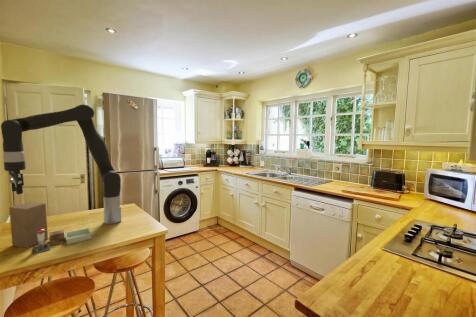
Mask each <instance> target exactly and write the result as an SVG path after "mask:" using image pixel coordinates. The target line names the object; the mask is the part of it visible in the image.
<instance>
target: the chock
mask: <svg viewBox="0 0 476 317" xmlns="http://www.w3.org/2000/svg"><path fill="white" fill-rule="evenodd" d="M48 239H49V243H50V246H51V245H54V244H60V243H64V242H65V243H66V240H65V230H64V229H61V230H60V229H59V230H55V231H50V232H48Z"/></svg>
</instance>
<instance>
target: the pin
mask: <svg viewBox="0 0 476 317" xmlns="http://www.w3.org/2000/svg"><path fill="white" fill-rule="evenodd" d="M44 232H45V228H42V229H38V230H36V233H37V237H38V244H37V246H38V249H37V250H41V249H45V248H46V247H45V244H46V240H45V235H44Z"/></svg>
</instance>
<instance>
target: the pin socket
mask: <svg viewBox="0 0 476 317" xmlns="http://www.w3.org/2000/svg"><path fill="white" fill-rule="evenodd" d="M47 251H48V252H49V251H51V245H50V242H49V243H45V249H41V250H38V245H37V246H36V245H35V246H33V249H32V254H33V255H34V254H38V253H39V254H40V253H44V252H47Z"/></svg>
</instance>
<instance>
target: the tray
mask: <svg viewBox="0 0 476 317" xmlns="http://www.w3.org/2000/svg"><path fill="white" fill-rule="evenodd" d="M64 240H65V244H66V246H68V245H69V246H70V245H74V244H78V243H82V242H85V241H89V240H93V236H92V231H91V229H90V227H85V228H80V229H75V230H72V231H71V230H70V231H66V232H65V231H64Z"/></svg>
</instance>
